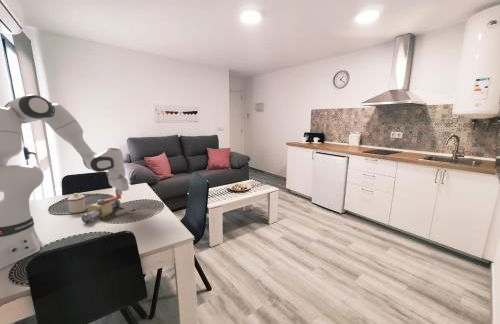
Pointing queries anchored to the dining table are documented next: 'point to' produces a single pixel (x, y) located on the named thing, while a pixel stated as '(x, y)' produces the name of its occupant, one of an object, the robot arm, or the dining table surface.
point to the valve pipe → (100, 210)
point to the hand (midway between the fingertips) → (120, 194)
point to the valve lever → (109, 199)
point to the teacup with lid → (77, 203)
